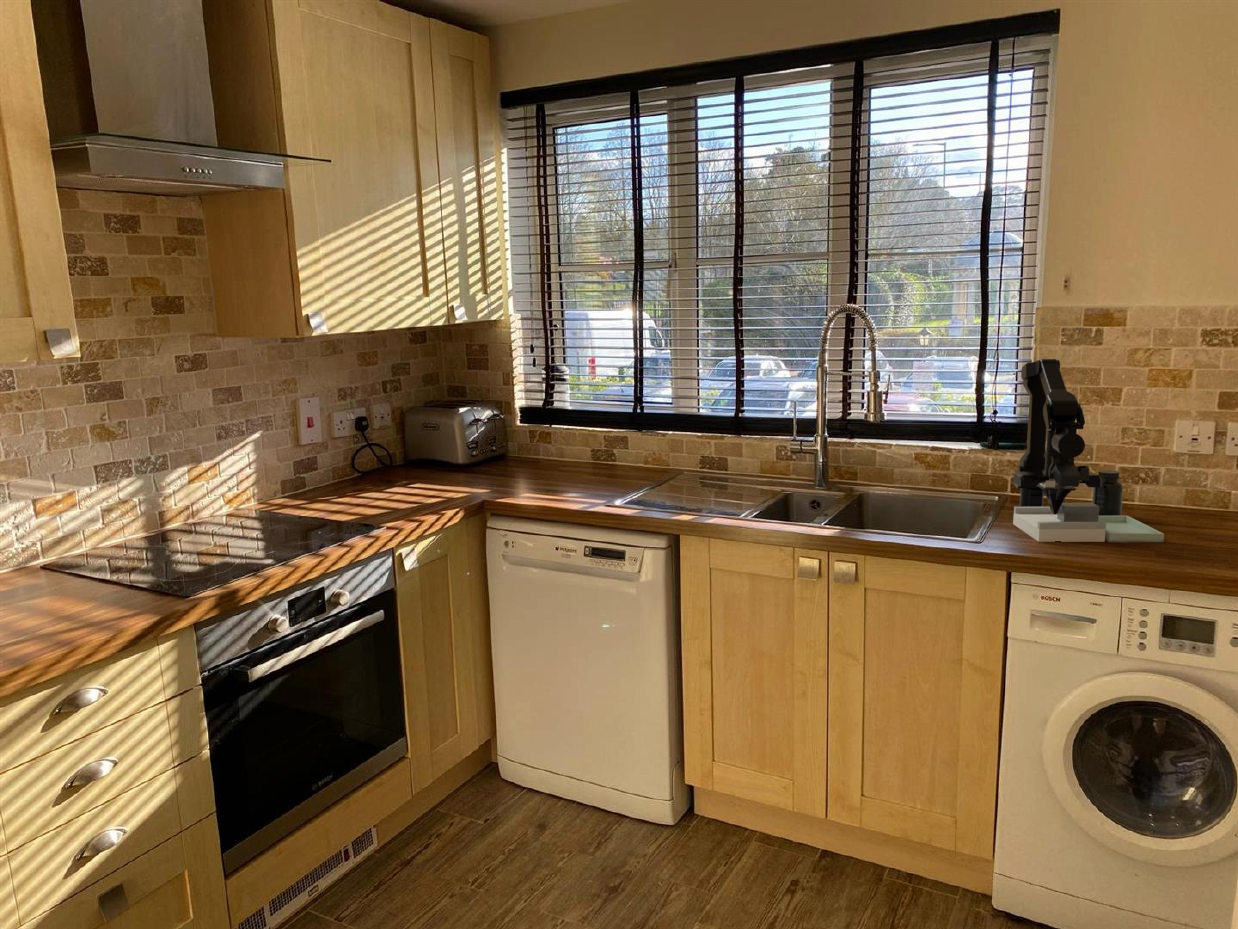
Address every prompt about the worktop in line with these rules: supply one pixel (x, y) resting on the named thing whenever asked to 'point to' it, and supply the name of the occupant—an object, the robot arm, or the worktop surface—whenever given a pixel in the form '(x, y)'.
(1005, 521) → the worktop surface
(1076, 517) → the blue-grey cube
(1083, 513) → the gray cube
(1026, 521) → the channel
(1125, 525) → the tray
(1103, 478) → the supplement bottle
